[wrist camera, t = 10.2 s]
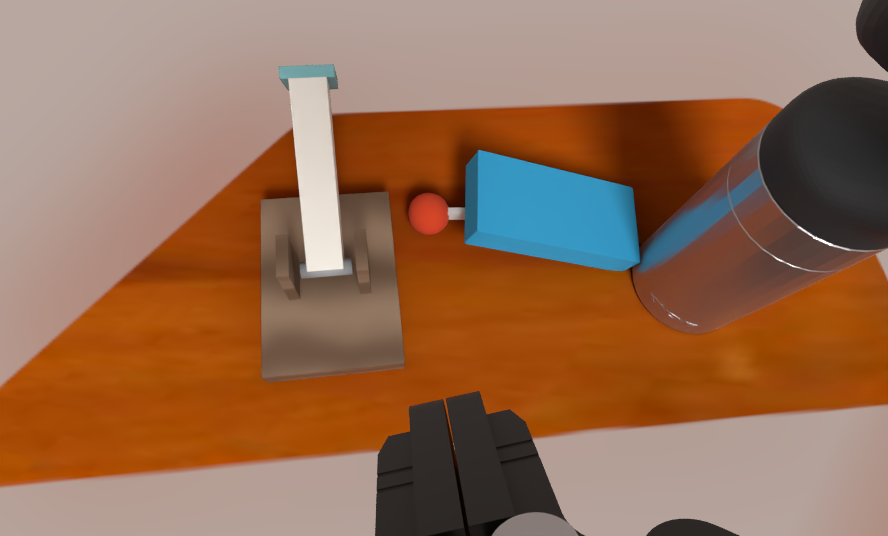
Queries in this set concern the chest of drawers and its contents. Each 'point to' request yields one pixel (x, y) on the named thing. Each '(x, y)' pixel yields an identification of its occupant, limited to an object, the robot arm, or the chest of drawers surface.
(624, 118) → the chest of drawers surface
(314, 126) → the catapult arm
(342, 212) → the catapult stand
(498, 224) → the lever
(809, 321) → the chest of drawers surface
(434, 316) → the chest of drawers surface
